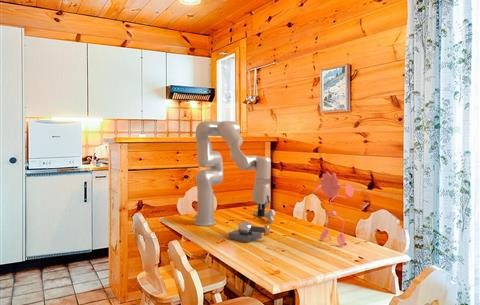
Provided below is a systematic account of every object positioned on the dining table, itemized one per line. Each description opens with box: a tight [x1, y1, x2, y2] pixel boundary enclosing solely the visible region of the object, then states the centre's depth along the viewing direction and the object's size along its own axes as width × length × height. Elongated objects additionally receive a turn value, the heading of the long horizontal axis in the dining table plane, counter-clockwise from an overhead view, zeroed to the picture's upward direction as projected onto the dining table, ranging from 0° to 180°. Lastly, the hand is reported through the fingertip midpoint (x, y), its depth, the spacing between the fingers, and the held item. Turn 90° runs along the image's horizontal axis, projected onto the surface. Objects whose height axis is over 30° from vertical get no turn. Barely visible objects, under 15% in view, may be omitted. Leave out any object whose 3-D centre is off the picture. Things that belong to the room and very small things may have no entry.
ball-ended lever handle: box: [237, 221, 270, 236], centre depth 179 cm, size 16×7×4 cm, turn 66°
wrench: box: [253, 209, 276, 224], centre depth 224 cm, size 8×2×30 cm
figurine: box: [312, 171, 355, 252], centre depth 171 cm, size 15×26×35 cm, turn 33°
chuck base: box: [228, 229, 263, 244], centre depth 182 cm, size 12×12×3 cm
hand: (260, 216), depth 185 cm, fingers closed
